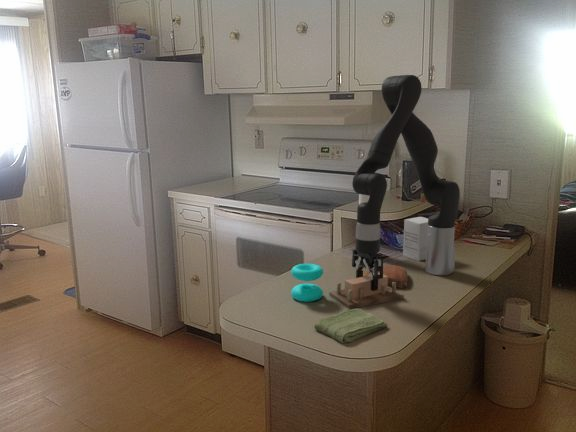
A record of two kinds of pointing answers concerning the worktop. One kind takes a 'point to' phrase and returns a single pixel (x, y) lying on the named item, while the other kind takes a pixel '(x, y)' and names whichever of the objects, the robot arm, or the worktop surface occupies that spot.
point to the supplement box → (415, 238)
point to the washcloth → (349, 325)
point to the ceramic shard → (393, 275)
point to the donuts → (307, 290)
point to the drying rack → (368, 300)
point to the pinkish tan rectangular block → (364, 286)
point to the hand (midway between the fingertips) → (366, 285)
